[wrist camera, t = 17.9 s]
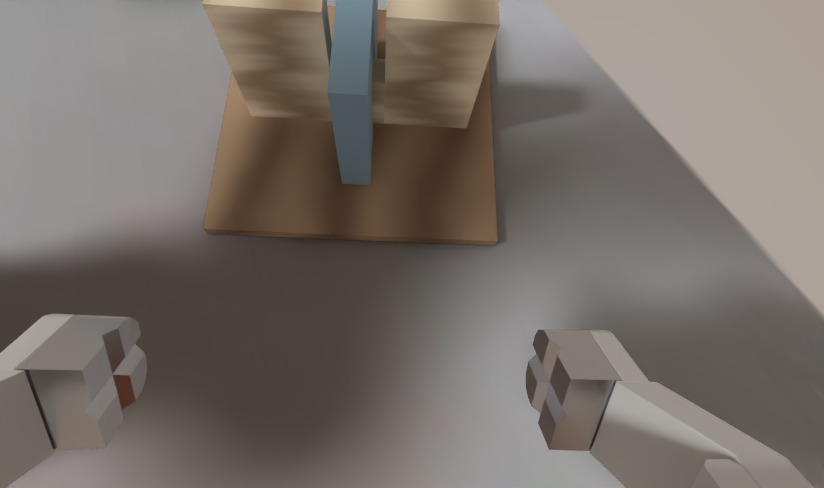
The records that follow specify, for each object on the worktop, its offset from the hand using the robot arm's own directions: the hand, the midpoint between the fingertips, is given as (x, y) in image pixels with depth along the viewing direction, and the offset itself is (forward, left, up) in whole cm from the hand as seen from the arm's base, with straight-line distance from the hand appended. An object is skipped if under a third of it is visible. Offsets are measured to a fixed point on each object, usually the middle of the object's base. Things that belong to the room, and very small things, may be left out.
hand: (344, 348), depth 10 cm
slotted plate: (-1, +20, -19) cm, 28 cm away
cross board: (-1, +20, -20) cm, 29 cm away
